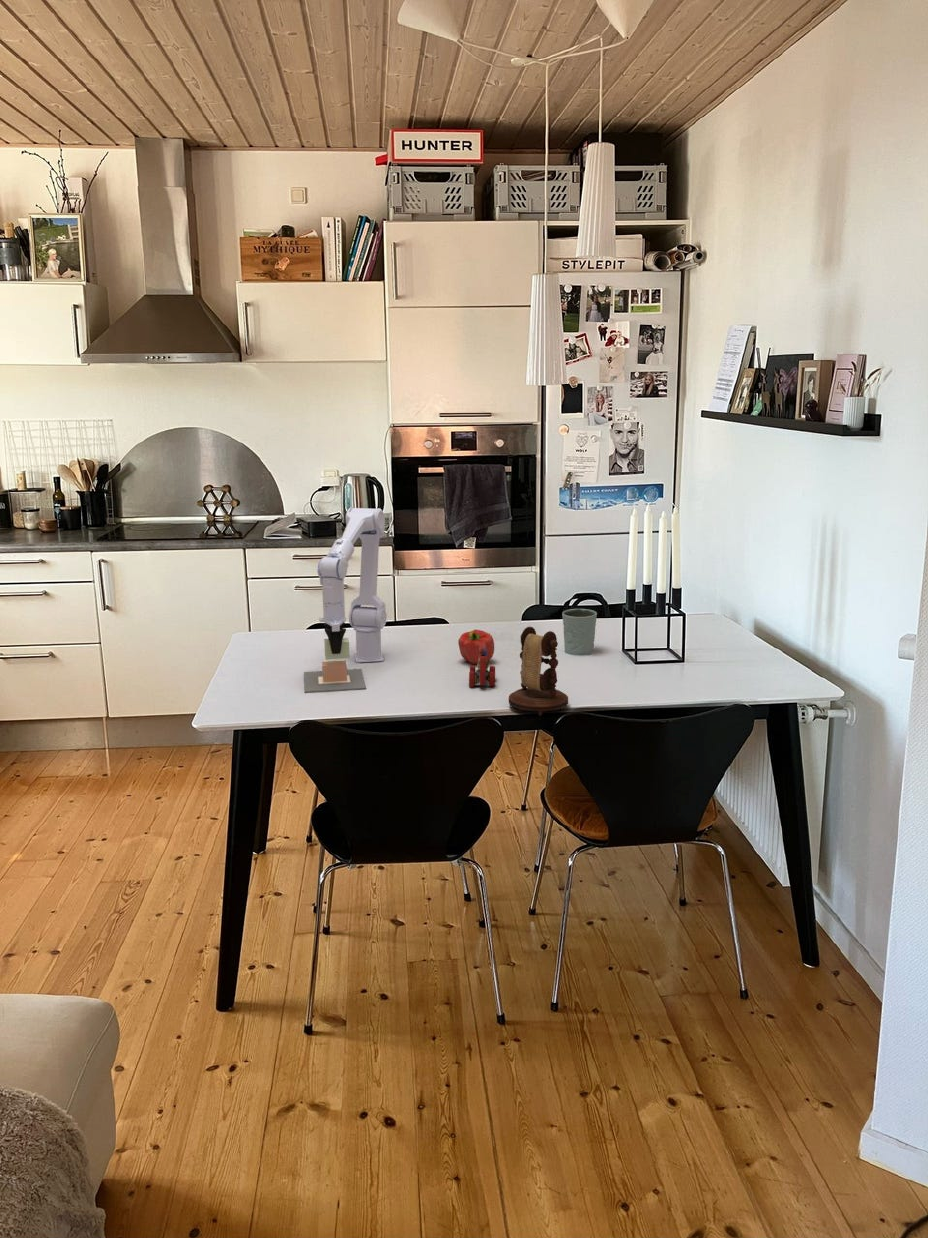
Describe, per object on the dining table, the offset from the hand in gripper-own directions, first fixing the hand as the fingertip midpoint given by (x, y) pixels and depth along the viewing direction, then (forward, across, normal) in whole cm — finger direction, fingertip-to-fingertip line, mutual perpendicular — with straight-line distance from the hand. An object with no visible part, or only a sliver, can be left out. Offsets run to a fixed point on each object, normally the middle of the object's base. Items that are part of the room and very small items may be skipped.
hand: (335, 651), depth 268 cm
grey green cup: (+9, -15, +72) cm, 74 cm away
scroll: (+9, +32, +48) cm, 58 cm away
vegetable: (+9, -10, +40) cm, 42 cm away
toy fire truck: (+9, +10, +38) cm, 40 cm away
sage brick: (+2, 0, 0) cm, 2 cm away
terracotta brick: (+8, 0, -1) cm, 8 cm away
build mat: (+8, 0, -1) cm, 8 cm away
